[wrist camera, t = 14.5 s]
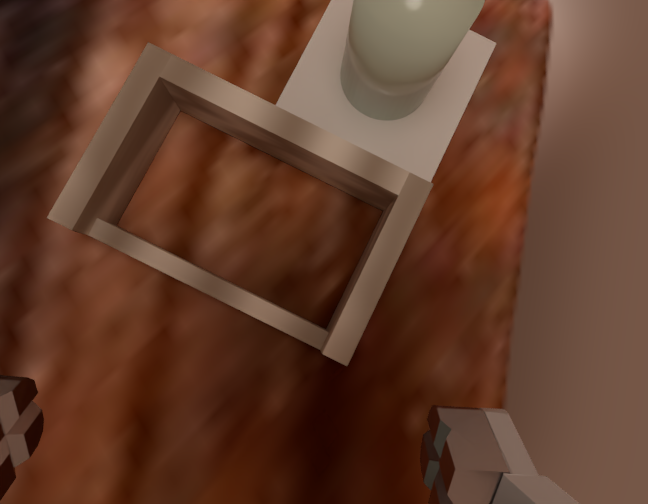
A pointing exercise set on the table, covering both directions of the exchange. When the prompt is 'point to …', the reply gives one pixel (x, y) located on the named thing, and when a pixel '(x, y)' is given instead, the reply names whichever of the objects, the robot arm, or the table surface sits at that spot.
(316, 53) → the concrete tile
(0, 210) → the table surface
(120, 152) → the frame
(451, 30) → the sage green rounded cylinder
